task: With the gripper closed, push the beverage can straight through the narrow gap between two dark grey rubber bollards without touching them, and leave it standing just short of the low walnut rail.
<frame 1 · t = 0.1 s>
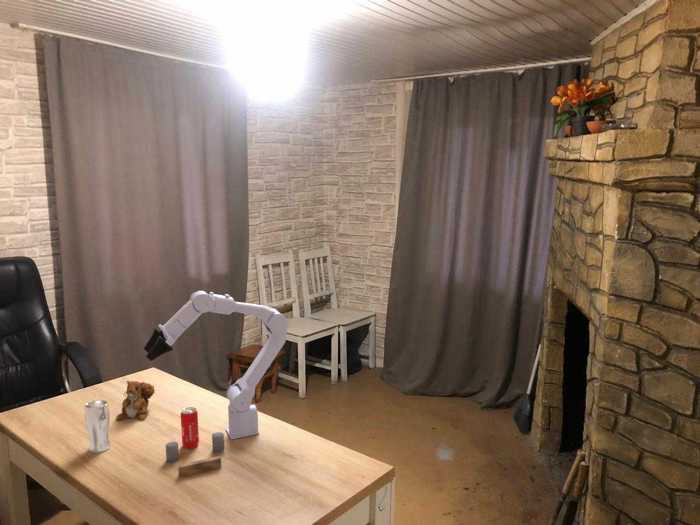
hand: (147, 354, 166), 32 cm above the table, tool tilted 50°, fingers open, 7 cm apart
bollard 2: (218, 449, 173), on the table
beverage can: (190, 445, 175), on the table
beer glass: (100, 448, 173), on the table
stuffed squirrel: (137, 413, 197), on the table
bollard 1: (172, 459, 167), on the table
walnut rail: (200, 470, 161), on the table
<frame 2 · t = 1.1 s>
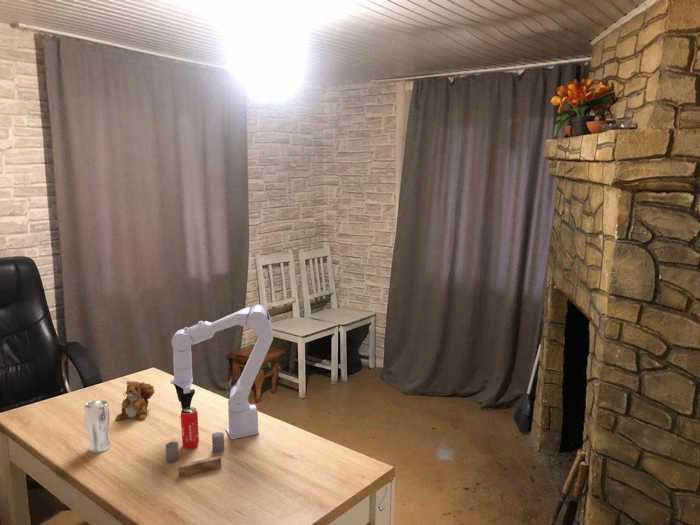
hand: (184, 405, 179), 11 cm above the table, tool pointing down, fingers open, 7 cm apart
beverage can: (190, 445, 175), on the table, touching gripper
everything else where it was.
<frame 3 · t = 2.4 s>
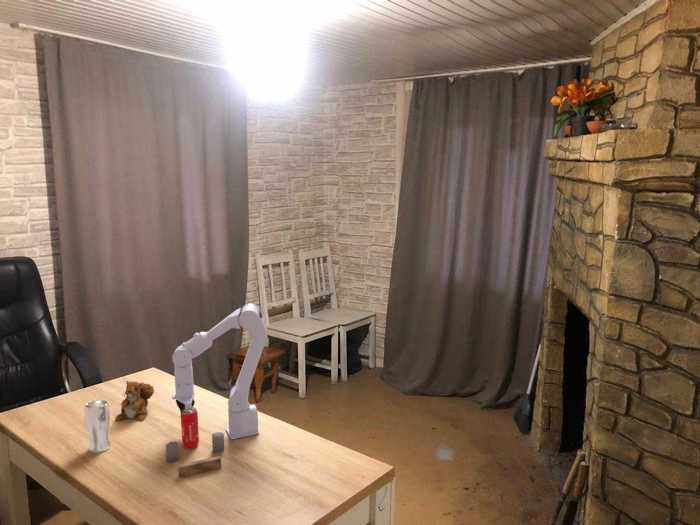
hand: (186, 420, 180), 5 cm above the table, tool pointing down, fingers closed
beverage can: (190, 445, 175), on the table
everything else where it was.
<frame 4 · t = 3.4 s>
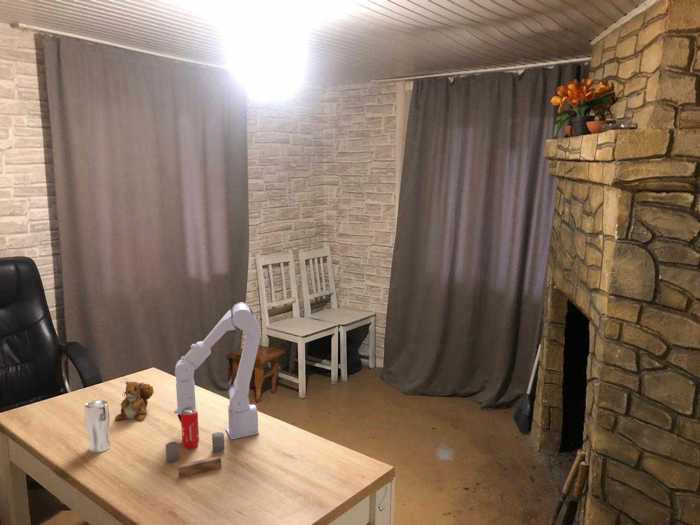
hand: (188, 434, 179), 1 cm above the table, tool pointing down, fingers closed
beverage can: (190, 445, 175), on the table, touching gripper
everything else where it was.
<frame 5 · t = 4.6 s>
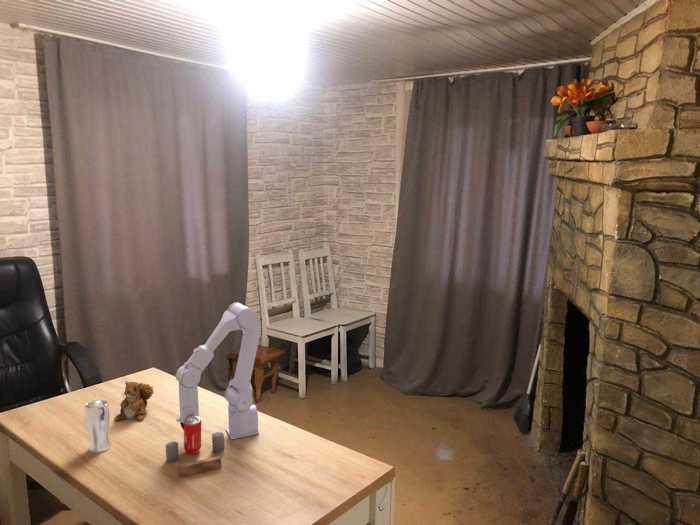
hand: (190, 442, 174), 1 cm above the table, tool pointing down, fingers closed, pressing on beverage can
beverage can: (192, 449, 171), on the table, touching gripper
everything else where it was.
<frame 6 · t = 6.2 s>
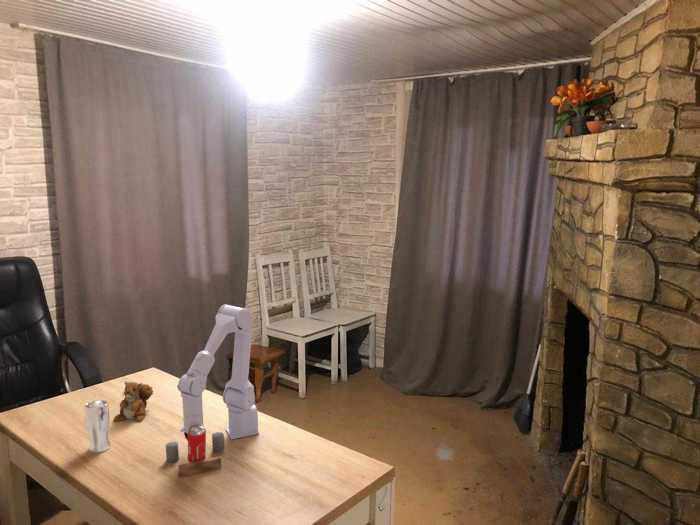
hand: (195, 453, 167), 1 cm above the table, tool pointing down, fingers closed, pressing on beverage can
beverage can: (196, 460, 165), on the table, touching gripper
everything else where it was.
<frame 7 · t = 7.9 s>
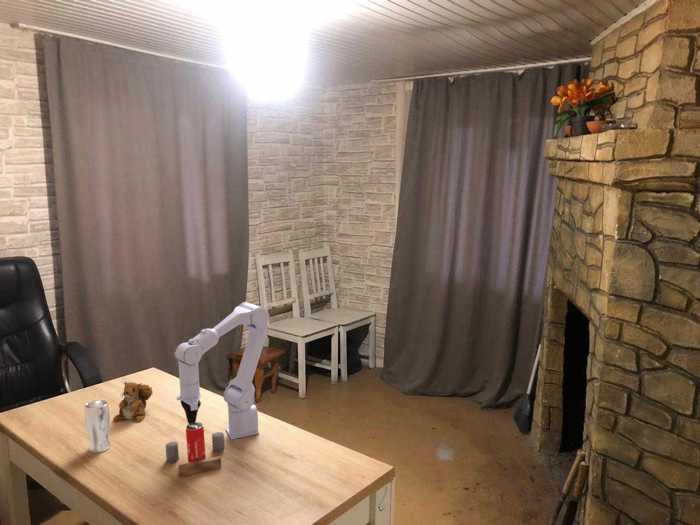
hand: (191, 422, 169), 10 cm above the table, tool pointing down, fingers closed
beverage can: (197, 463, 165), on the table
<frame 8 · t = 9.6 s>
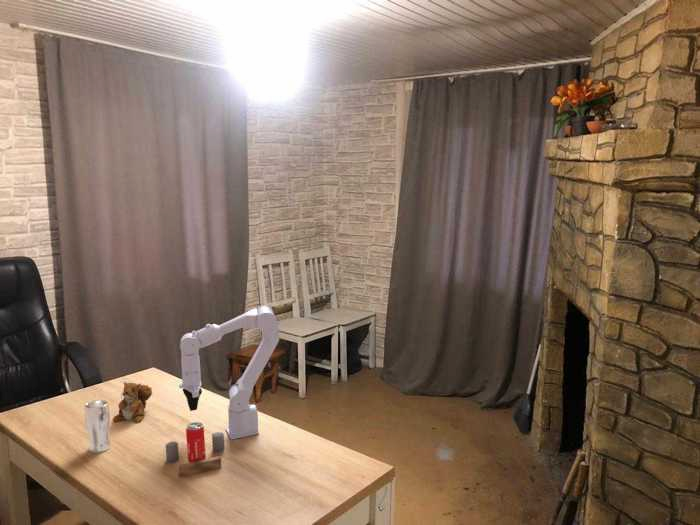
hand: (193, 409, 178), 10 cm above the table, tool pointing down, fingers closed
at the end: beverage can inside the target area (1.8 cm from its centre), on the table; beverage can tilted 1°; bollard 2 moved 0.0 cm from its start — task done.
